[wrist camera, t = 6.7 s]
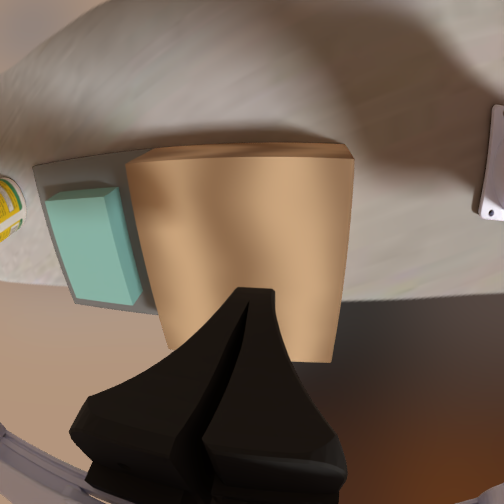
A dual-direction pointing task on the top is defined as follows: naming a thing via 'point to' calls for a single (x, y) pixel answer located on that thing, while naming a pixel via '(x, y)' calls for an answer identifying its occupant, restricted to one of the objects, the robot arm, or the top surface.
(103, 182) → the mat
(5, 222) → the supplement bottle
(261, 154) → the wooden block
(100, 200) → the mint green block
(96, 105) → the top surface
